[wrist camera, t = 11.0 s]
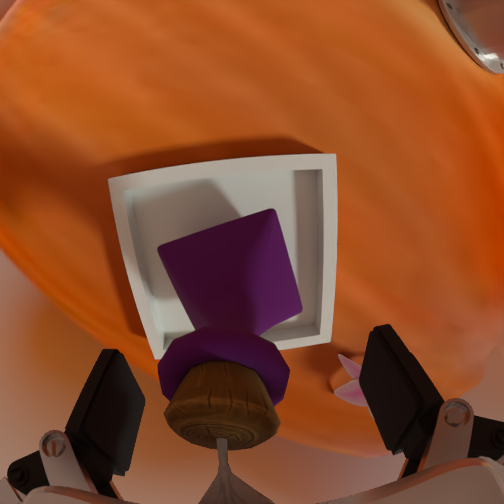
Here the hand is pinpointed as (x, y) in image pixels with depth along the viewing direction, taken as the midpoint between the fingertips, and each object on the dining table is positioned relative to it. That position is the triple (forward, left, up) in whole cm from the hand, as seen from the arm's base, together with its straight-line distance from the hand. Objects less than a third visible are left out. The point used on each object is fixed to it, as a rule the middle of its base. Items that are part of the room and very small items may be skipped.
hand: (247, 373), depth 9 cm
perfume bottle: (0, 0, -12) cm, 12 cm away
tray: (+1, 0, -12) cm, 12 cm away
